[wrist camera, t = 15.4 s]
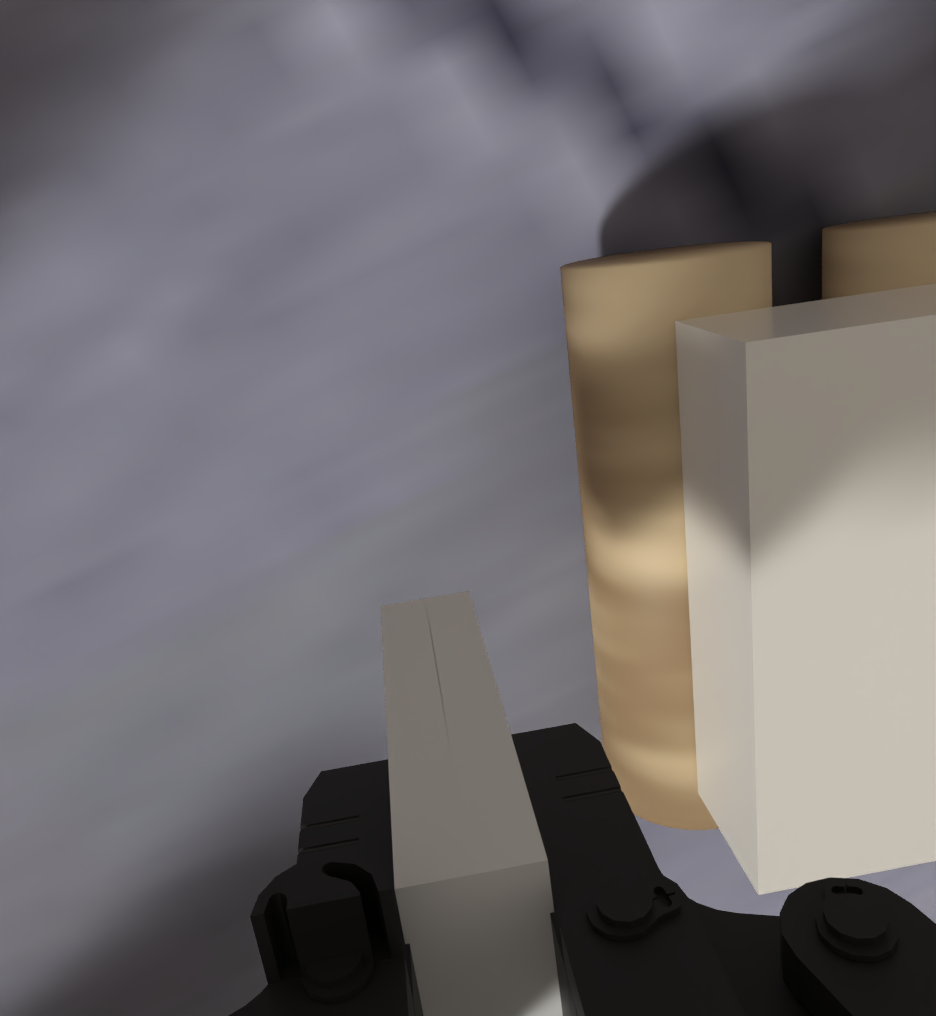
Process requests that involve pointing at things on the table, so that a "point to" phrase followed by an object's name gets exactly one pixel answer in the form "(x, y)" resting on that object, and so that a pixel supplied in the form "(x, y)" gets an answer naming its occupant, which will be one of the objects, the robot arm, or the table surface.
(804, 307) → the slab
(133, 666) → the table surface
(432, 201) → the table surface
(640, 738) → the roller bed
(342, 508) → the table surface
